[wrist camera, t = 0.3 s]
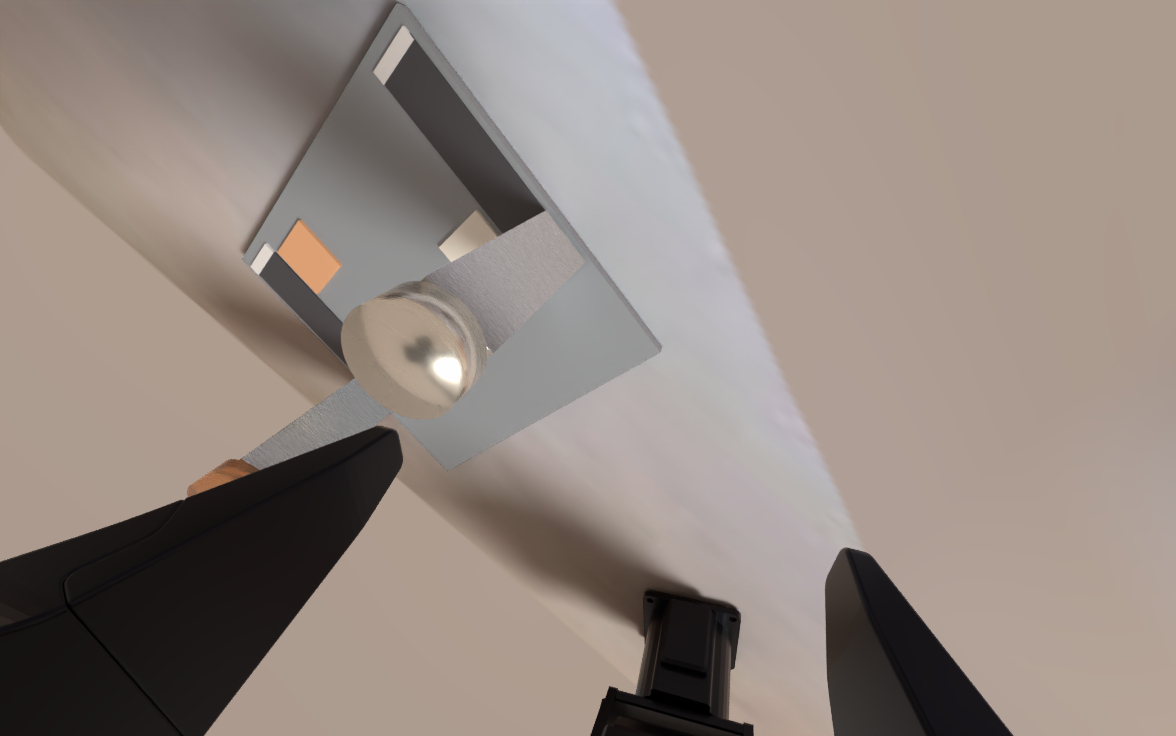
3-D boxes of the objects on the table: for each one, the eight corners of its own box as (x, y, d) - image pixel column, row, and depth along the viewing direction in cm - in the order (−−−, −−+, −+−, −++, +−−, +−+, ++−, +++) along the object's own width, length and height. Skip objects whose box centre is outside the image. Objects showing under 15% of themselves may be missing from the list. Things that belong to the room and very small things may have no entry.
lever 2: (597, 264, 20) (484, 387, 12) (543, 304, 22) (410, 437, 14) (547, 196, 20) (384, 274, 11) (494, 244, 22) (320, 344, 13)
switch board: (662, 346, 23) (659, 354, 22) (451, 465, 32) (445, 473, 31) (405, 5, 18) (393, 2, 18) (250, 256, 28) (238, 260, 27)
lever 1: (417, 398, 28) (268, 532, 20) (388, 420, 30) (240, 551, 21) (375, 354, 27) (201, 473, 19) (348, 379, 29) (177, 498, 21)
